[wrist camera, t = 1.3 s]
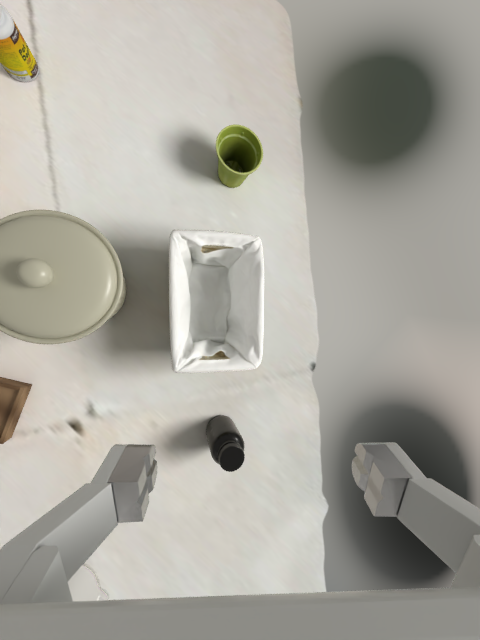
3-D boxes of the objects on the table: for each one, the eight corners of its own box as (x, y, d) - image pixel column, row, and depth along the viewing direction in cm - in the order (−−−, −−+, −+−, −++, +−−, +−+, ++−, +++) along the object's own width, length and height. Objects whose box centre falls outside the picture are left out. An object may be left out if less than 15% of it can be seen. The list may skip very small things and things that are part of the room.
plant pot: (220, 201, 54) (228, 180, 46) (203, 160, 53) (207, 131, 45) (256, 188, 56) (270, 166, 48) (240, 148, 55) (251, 119, 47)
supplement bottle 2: (218, 449, 55) (228, 485, 44) (199, 429, 54) (205, 460, 42) (240, 429, 56) (256, 458, 45) (222, 408, 55) (234, 432, 44)
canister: (53, 232, 46) (-46, 166, 26) (149, 260, 51) (130, 223, 30) (28, 323, 46) (-95, 329, 25) (128, 343, 50) (93, 362, 30)
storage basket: (243, 356, 56) (265, 370, 42) (171, 359, 52) (169, 376, 38) (243, 254, 56) (265, 233, 42) (171, 249, 52) (168, 224, 38)
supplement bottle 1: (41, 86, 45) (3, 22, 36) (6, 81, 44) (-44, 13, 34) (39, 56, 45) (-1, -17, 35) (3, 50, 44) (-48, -28, 34)
